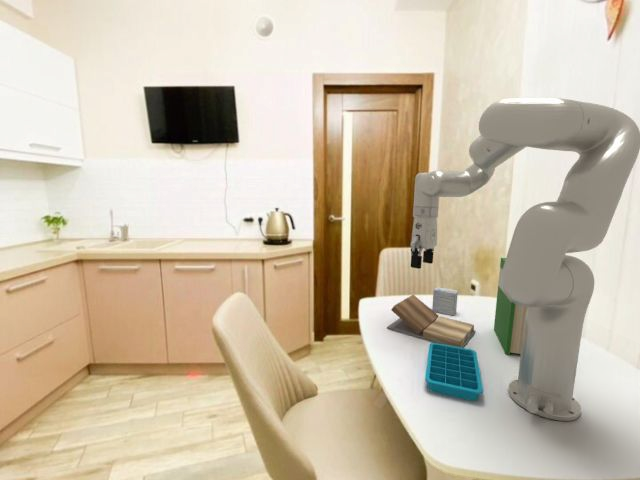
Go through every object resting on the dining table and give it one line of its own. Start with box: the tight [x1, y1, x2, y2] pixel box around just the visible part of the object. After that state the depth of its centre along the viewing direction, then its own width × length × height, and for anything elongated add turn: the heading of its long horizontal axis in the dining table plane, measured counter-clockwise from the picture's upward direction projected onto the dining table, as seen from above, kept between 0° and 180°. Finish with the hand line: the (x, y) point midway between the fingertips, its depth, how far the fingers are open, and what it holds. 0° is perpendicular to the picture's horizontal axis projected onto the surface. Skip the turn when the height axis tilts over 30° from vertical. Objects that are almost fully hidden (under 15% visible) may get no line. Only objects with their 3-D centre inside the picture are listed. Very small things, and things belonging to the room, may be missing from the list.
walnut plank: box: [391, 294, 440, 334], centre depth 104 cm, size 15×11×2 cm
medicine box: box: [431, 287, 459, 316], centre depth 117 cm, size 8×4×9 cm, turn 58°
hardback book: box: [493, 257, 528, 357], centre depth 92 cm, size 18×7×24 cm, turn 161°
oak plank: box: [423, 316, 475, 347], centre depth 98 cm, size 15×11×2 cm
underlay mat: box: [386, 317, 476, 348], centre depth 101 cm, size 16×23×1 cm
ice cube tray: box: [424, 342, 484, 402], centre depth 77 cm, size 12×20×3 cm, turn 158°
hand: (421, 265), depth 102 cm, fingers open, 9 cm apart
